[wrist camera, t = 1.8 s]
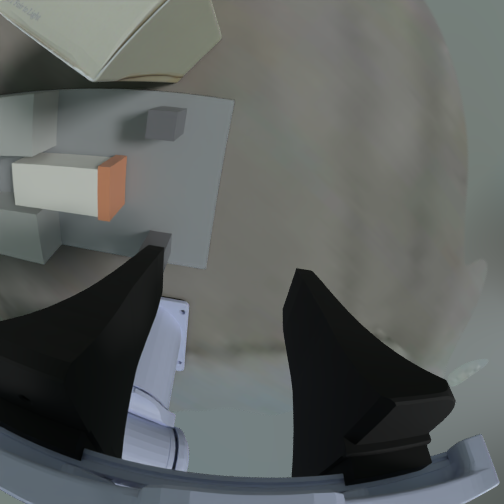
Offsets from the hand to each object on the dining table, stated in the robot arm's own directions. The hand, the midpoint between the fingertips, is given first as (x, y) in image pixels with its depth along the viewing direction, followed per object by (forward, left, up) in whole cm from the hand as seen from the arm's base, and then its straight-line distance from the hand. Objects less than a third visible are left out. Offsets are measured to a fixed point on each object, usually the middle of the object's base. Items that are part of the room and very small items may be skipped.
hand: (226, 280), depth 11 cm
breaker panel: (0, +11, -10) cm, 15 cm away
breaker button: (0, +11, -9) cm, 14 cm away
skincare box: (+10, +6, -11) cm, 16 cm away
